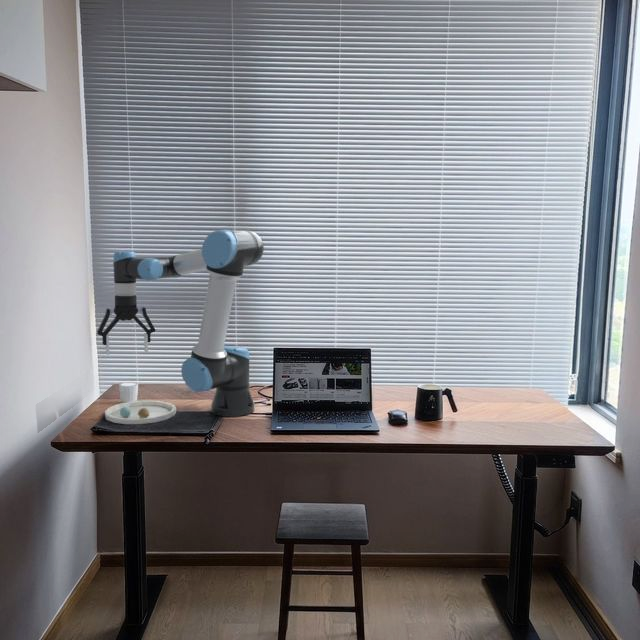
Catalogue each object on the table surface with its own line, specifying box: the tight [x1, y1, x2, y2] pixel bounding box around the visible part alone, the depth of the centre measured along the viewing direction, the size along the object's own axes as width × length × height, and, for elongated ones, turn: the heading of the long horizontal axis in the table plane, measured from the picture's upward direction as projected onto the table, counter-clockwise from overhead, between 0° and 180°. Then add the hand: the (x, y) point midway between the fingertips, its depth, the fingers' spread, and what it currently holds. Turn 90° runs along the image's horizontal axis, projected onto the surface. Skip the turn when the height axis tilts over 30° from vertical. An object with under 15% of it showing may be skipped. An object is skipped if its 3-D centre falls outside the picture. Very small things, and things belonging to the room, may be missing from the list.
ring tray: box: [104, 400, 177, 425], centre depth 217 cm, size 23×23×2 cm
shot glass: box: [118, 381, 139, 403], centre depth 234 cm, size 7×7×7 cm
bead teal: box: [120, 407, 131, 417], centre depth 213 cm, size 4×4×4 cm
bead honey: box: [138, 408, 149, 418], centre depth 212 cm, size 4×4×4 cm
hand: (127, 352), depth 232 cm, fingers open, 13 cm apart
